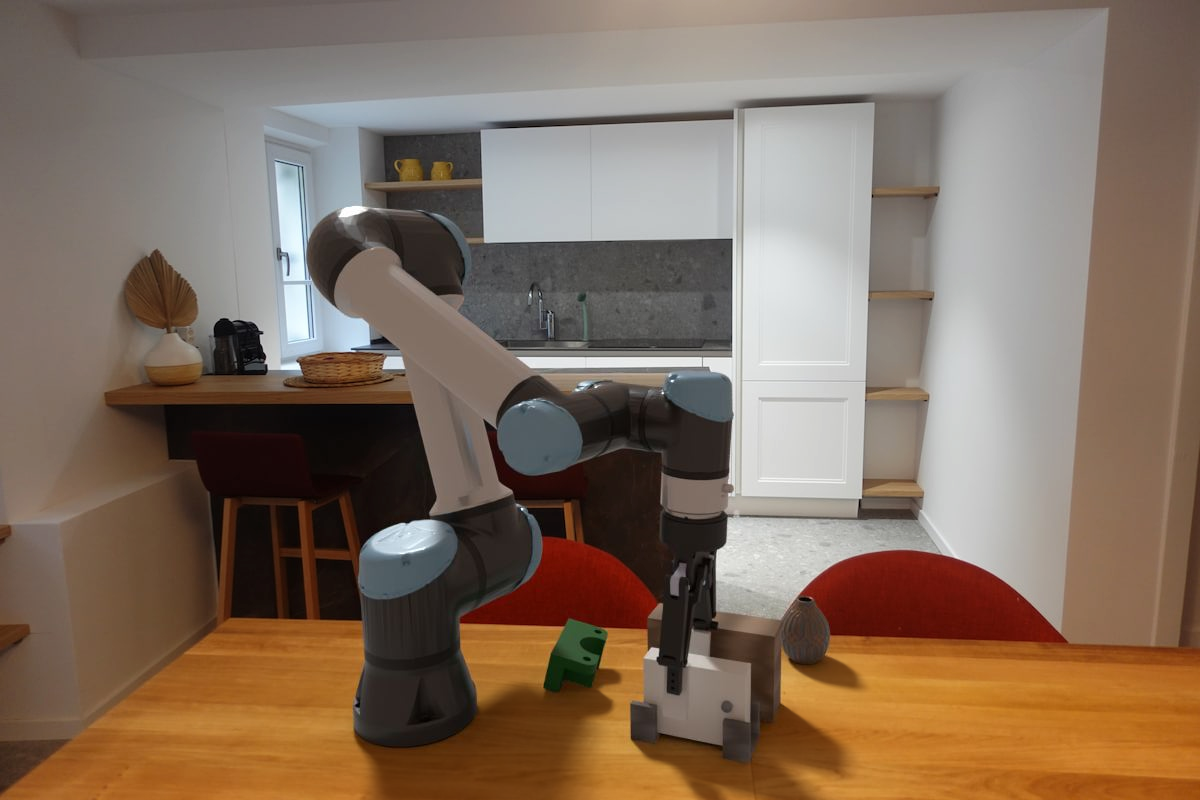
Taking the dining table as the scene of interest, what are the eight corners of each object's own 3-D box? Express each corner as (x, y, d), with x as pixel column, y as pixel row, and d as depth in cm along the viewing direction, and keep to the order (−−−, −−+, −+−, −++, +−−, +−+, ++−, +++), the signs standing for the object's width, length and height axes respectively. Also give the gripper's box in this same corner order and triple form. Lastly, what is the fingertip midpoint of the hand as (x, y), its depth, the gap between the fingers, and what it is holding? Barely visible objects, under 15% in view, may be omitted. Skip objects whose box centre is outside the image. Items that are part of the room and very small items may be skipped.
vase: (770, 651, 117) (770, 593, 116) (812, 644, 119) (813, 587, 118) (795, 672, 110) (796, 611, 109) (839, 665, 112) (840, 604, 111)
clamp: (582, 721, 107) (591, 678, 102) (539, 707, 108) (546, 664, 103) (604, 651, 117) (613, 609, 112) (565, 639, 118) (572, 597, 113)
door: (642, 731, 95) (641, 659, 94) (652, 717, 99) (651, 647, 97) (743, 752, 91) (744, 677, 90) (750, 736, 94) (750, 663, 93)
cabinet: (622, 736, 96) (621, 648, 94) (660, 681, 109) (659, 603, 107) (758, 765, 90) (759, 671, 88) (780, 702, 103) (781, 620, 101)
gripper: (701, 541, 80) (692, 754, 83) (747, 491, 99) (738, 666, 102) (630, 530, 83) (624, 737, 86) (688, 484, 102) (681, 654, 105)
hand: (686, 698), depth 94 cm, fingers open, 8 cm apart
